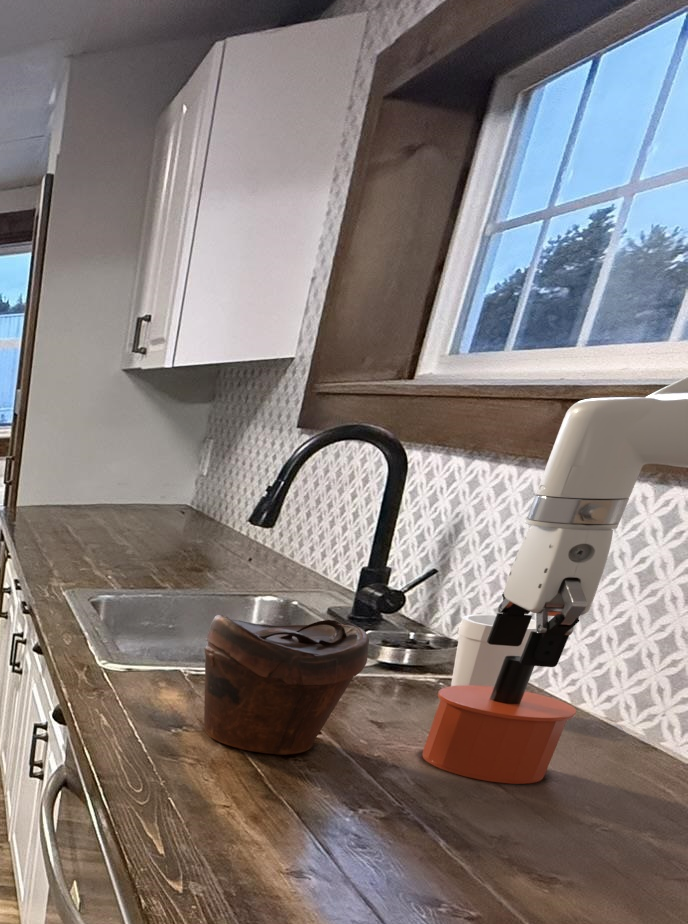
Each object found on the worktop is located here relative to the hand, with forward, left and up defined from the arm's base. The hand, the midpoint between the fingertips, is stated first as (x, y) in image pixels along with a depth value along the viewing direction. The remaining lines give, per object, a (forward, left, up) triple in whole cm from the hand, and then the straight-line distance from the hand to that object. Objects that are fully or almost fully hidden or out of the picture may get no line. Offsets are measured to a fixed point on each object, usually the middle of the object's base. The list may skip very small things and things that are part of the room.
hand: (519, 654), depth 102 cm
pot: (0, 0, -15) cm, 15 cm away
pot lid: (0, 0, -7) cm, 7 cm away
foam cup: (-8, -29, -15) cm, 34 cm away
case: (+24, -1, -15) cm, 28 cm away
